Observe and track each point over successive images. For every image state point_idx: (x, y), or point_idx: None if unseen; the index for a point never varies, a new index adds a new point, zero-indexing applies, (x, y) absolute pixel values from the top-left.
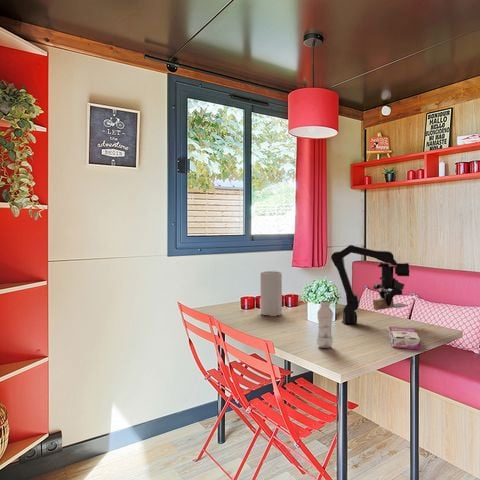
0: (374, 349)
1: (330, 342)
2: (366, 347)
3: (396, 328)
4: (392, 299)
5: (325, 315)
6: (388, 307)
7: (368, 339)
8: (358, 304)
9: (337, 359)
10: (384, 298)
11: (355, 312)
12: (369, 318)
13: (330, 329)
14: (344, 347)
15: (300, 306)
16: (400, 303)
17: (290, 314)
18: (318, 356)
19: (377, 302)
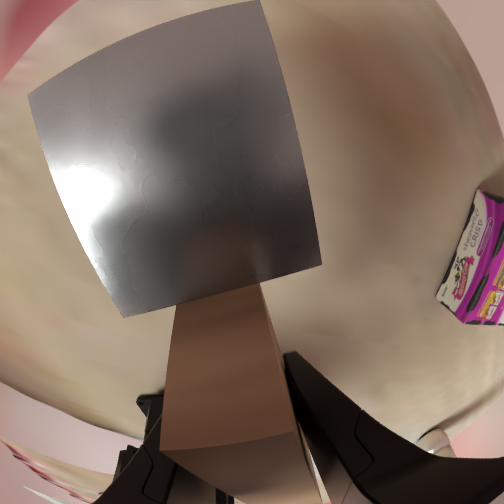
0: (486, 352)
1: (447, 436)
2: (470, 369)
3: (492, 294)
4: (288, 401)
5: None
6: (278, 348)
7: (426, 368)
8: (220, 500)
9: (479, 404)
10: (264, 490)
11: None
12: (34, 297)
13: (456, 457)
14: (445, 408)
15: (2, 439)
16: (66, 94)
17: (106, 485)
18: (455, 428)
19: (316, 481)
